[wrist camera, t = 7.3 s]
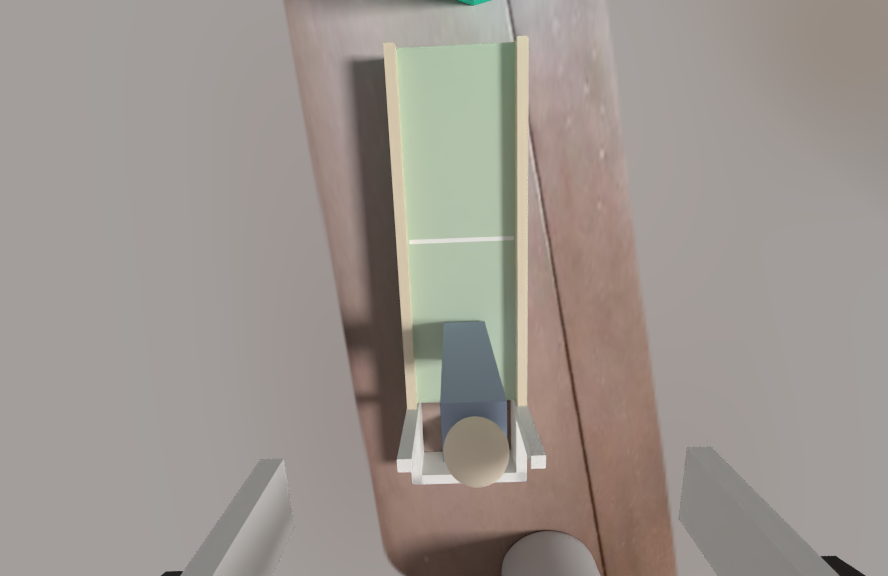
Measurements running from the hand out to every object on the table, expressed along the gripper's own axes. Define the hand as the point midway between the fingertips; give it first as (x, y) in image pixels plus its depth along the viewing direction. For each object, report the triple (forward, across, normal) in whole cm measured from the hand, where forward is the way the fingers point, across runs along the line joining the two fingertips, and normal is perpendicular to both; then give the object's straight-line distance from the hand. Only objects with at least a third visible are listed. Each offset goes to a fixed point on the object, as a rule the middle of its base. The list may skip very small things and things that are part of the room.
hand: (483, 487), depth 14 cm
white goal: (+19, 0, -10) cm, 22 cm away
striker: (+17, 0, -2) cm, 17 cm away
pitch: (+20, 0, +6) cm, 20 cm away
